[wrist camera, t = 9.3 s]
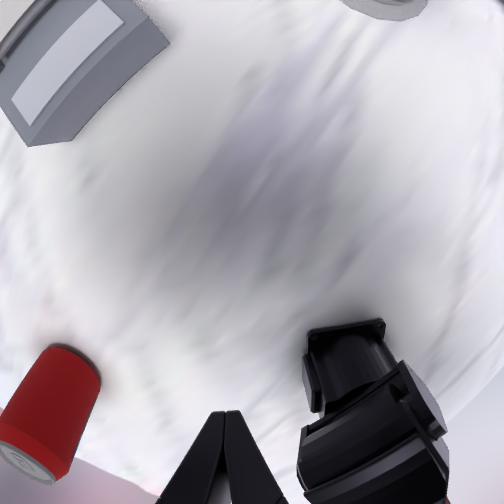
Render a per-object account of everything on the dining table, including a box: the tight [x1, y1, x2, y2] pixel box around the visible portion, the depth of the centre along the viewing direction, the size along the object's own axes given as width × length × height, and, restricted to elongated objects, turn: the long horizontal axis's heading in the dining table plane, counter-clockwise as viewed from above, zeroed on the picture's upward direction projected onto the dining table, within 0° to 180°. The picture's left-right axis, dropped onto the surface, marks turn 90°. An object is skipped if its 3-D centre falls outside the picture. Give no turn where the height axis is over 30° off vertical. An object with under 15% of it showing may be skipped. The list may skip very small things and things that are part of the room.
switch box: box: [0, 0, 170, 147], centre depth 12 cm, size 8×9×6 cm
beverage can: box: [0, 348, 100, 485], centre depth 18 cm, size 7×7×12 cm
